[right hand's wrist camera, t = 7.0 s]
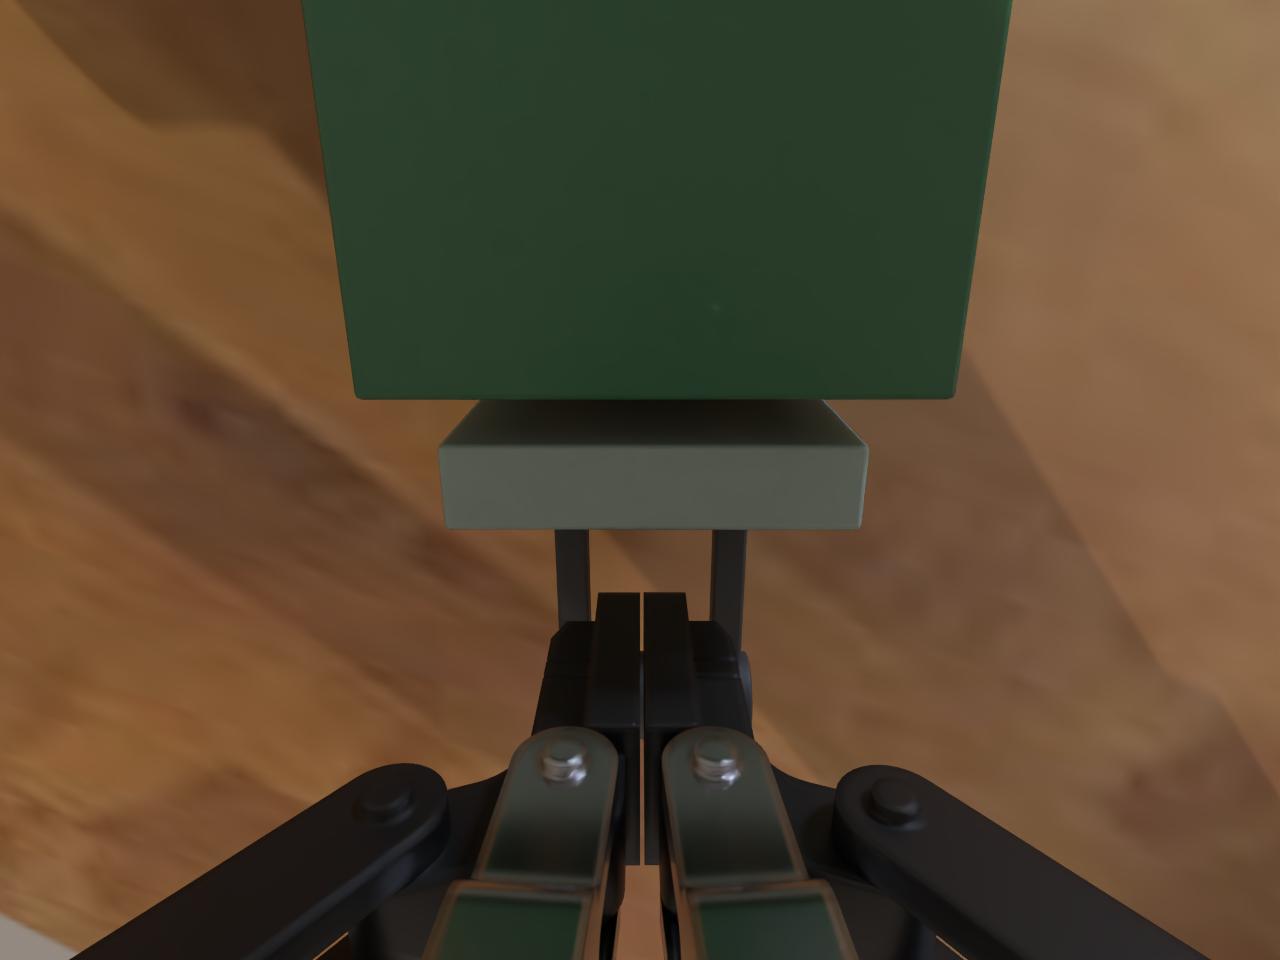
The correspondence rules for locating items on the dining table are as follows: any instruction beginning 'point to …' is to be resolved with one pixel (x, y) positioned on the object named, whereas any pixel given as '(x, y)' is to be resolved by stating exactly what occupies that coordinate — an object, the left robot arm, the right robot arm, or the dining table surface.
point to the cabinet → (655, 194)
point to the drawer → (654, 481)
